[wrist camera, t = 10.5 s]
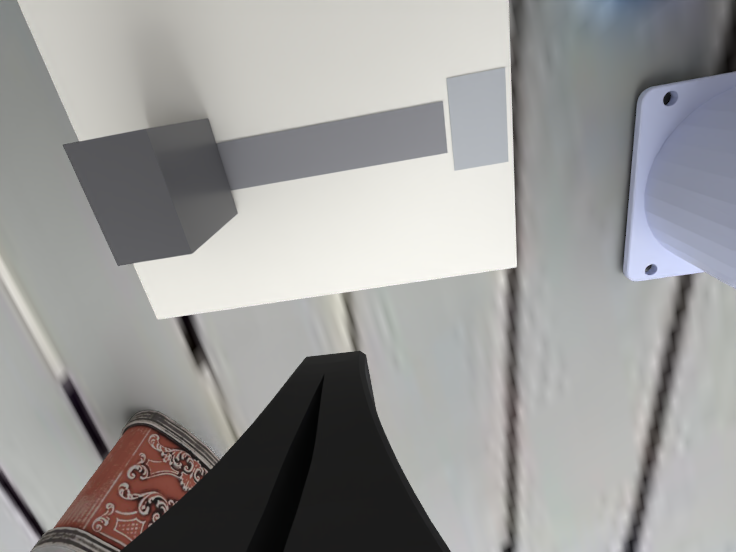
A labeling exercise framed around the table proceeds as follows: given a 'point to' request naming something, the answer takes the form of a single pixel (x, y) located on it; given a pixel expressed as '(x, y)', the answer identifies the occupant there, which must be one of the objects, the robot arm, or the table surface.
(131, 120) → the switch plate
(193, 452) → the lighter
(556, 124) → the table surface
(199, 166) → the on handle
